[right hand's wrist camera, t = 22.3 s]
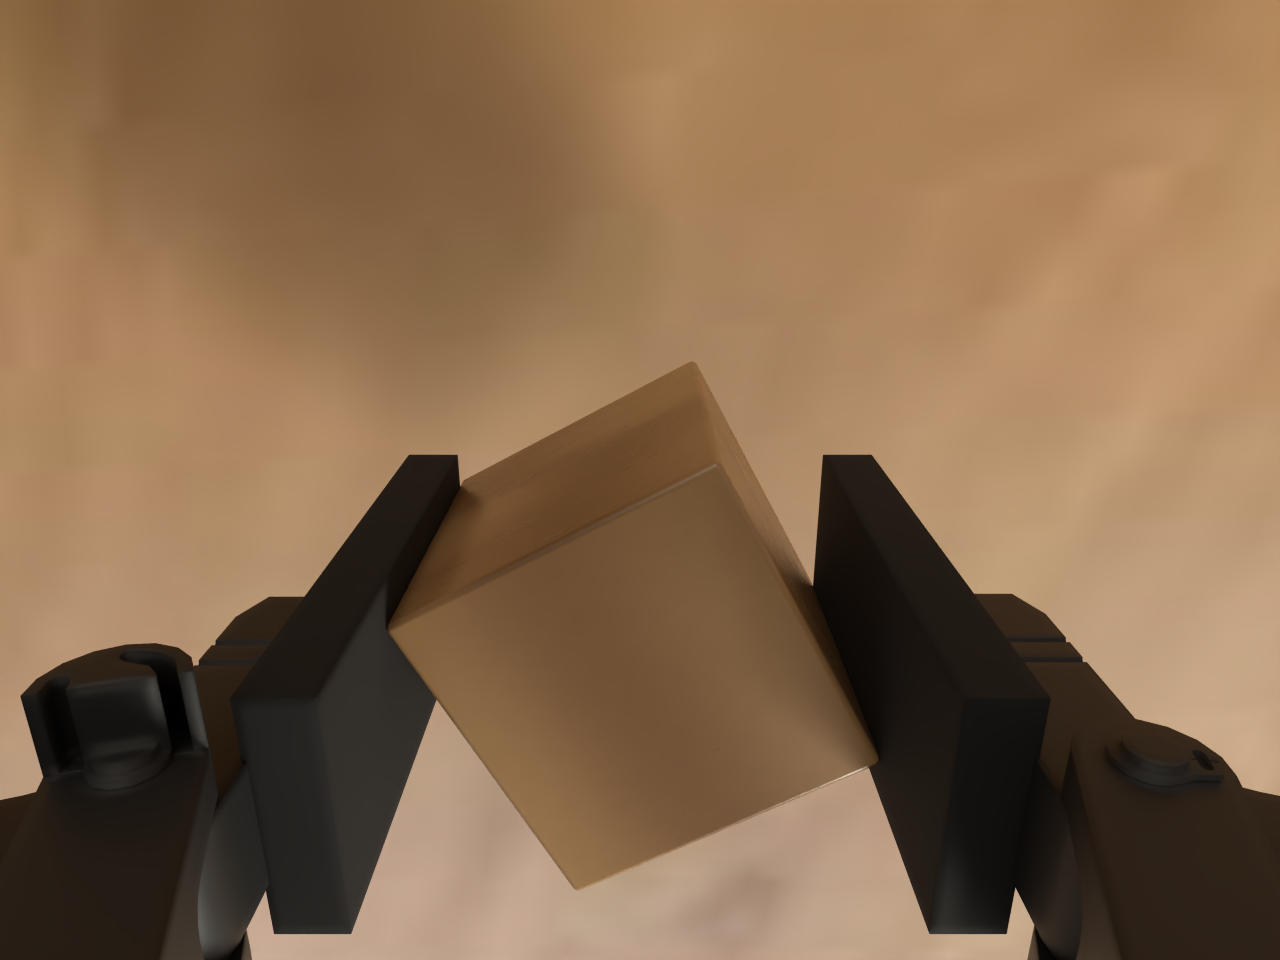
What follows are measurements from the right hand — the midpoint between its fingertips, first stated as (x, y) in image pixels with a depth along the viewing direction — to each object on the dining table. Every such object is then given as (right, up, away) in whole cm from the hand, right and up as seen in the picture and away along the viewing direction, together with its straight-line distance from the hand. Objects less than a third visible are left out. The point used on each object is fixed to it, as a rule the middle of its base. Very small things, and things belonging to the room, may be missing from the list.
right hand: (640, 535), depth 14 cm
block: (0, 0, 0) cm, 0 cm away
